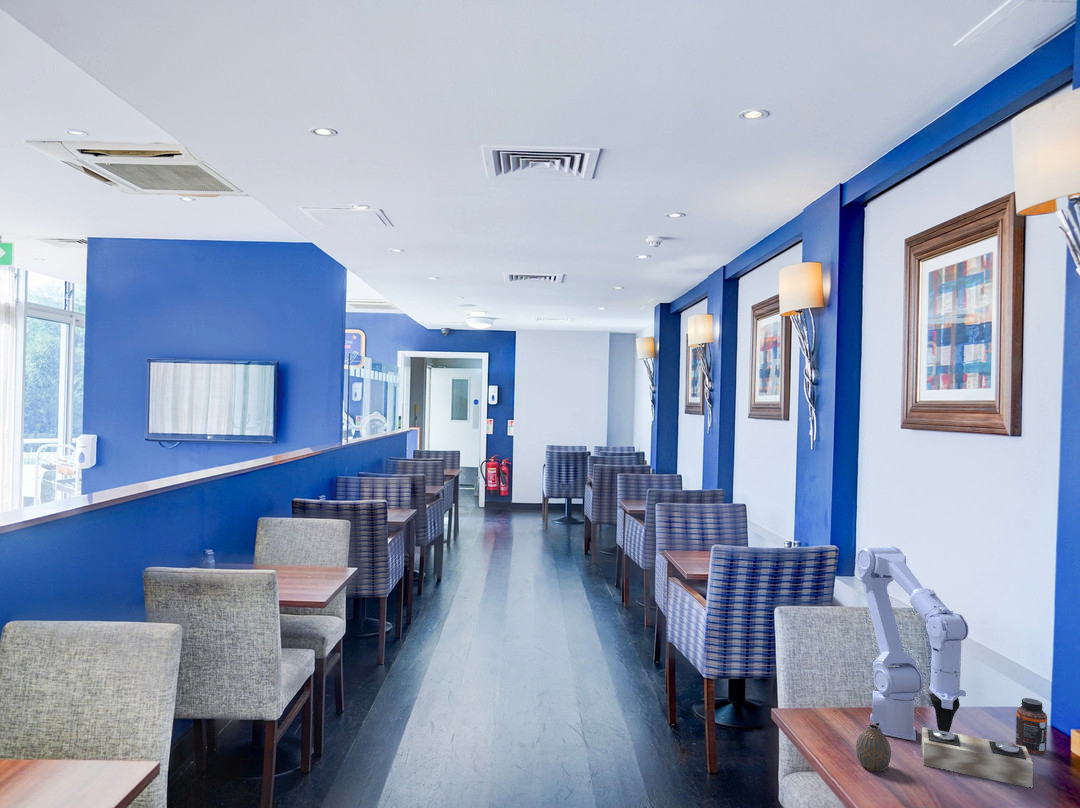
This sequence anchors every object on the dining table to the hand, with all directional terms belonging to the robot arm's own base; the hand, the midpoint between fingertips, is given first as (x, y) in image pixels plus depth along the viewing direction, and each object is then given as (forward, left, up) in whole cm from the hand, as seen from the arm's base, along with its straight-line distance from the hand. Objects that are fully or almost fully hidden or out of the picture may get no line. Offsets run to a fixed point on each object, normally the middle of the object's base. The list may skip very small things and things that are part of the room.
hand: (943, 730), depth 163 cm
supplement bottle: (+19, +17, -7) cm, 26 cm away
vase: (-14, -11, -7) cm, 19 cm away
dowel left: (0, 0, -6) cm, 6 cm away
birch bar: (+6, 0, -7) cm, 9 cm away
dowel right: (+12, 0, -6) cm, 13 cm away
